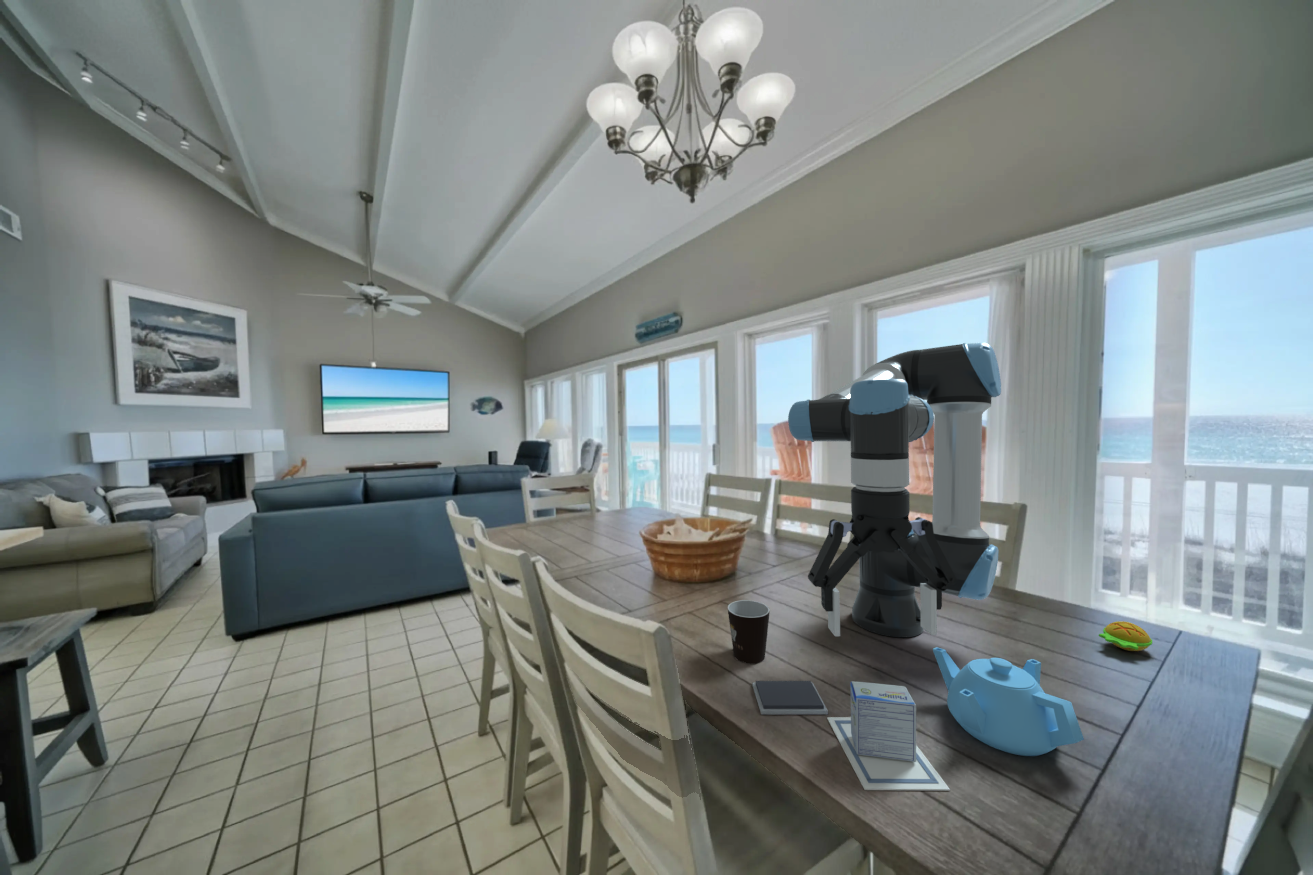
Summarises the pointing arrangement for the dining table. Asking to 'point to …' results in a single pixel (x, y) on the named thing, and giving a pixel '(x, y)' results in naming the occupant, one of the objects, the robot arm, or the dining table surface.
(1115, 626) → the toy burger
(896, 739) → the medicine box
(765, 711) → the ink pad
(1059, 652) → the dining table surface
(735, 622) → the coffee mug
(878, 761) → the print sheet
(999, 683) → the teapot
